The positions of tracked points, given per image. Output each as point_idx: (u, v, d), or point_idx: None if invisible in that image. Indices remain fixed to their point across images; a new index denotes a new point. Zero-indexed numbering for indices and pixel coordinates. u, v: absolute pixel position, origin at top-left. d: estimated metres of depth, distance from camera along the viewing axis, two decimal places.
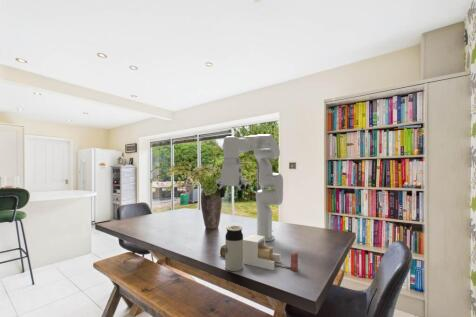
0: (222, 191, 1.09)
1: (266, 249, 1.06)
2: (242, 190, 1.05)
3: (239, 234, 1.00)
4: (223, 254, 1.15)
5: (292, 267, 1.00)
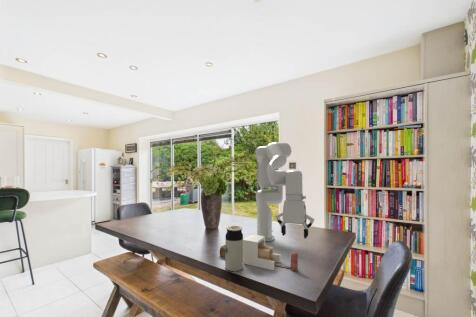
0: (284, 228, 1.03)
1: (266, 249, 1.06)
2: None
3: (239, 234, 1.00)
4: (222, 254, 1.15)
5: (292, 267, 1.00)
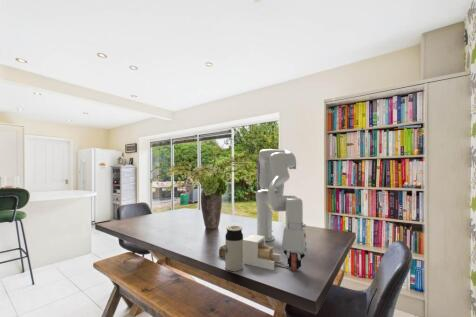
0: (290, 260, 1.01)
1: (266, 249, 1.06)
2: None
3: (238, 234, 1.00)
4: (222, 255, 1.14)
5: (292, 267, 1.00)
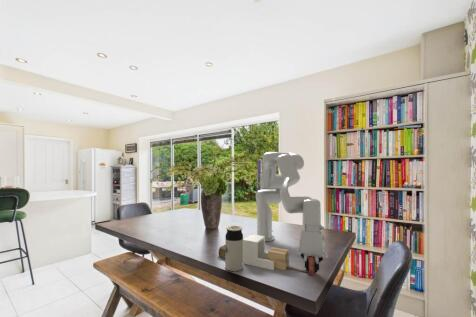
0: None
1: (282, 252, 1.02)
2: (319, 262, 0.96)
3: (238, 234, 1.00)
4: (221, 255, 1.14)
5: (310, 271, 0.96)
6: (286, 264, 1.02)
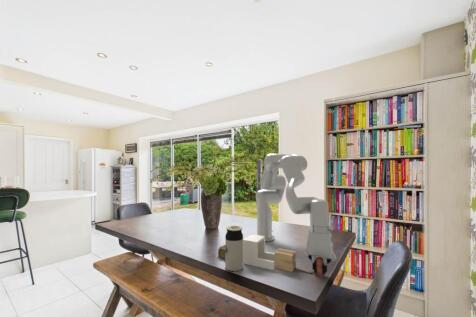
0: (315, 265, 0.96)
1: (289, 253, 1.01)
2: None
3: (238, 234, 1.00)
4: (221, 255, 1.14)
5: (318, 272, 0.95)
6: (293, 266, 1.00)
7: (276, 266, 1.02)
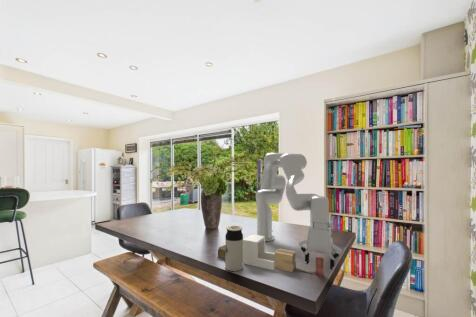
0: (308, 257, 0.98)
1: (289, 253, 1.01)
2: (334, 258, 0.94)
3: (239, 234, 1.00)
4: (220, 255, 1.14)
5: (318, 272, 0.95)
6: (293, 266, 1.00)
7: (276, 266, 1.02)
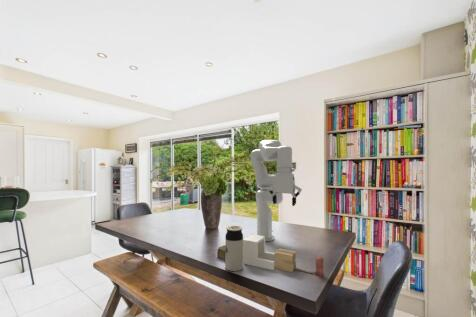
0: (275, 198, 1.16)
1: (289, 253, 1.01)
2: None
3: (239, 234, 1.00)
4: (220, 255, 1.13)
5: (318, 272, 0.95)
6: (293, 266, 1.00)
7: (276, 266, 1.02)
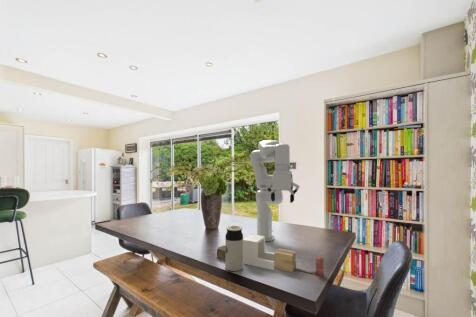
0: (273, 195, 1.17)
1: (289, 253, 1.01)
2: None
3: (239, 234, 1.00)
4: (219, 255, 1.13)
5: (318, 272, 0.95)
6: (293, 266, 1.00)
7: (276, 266, 1.02)
